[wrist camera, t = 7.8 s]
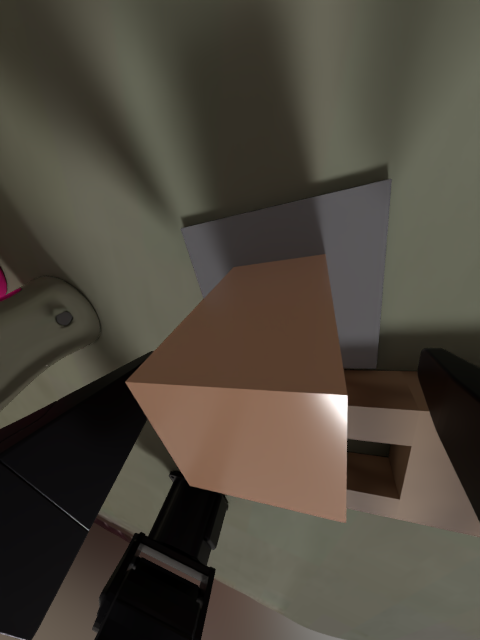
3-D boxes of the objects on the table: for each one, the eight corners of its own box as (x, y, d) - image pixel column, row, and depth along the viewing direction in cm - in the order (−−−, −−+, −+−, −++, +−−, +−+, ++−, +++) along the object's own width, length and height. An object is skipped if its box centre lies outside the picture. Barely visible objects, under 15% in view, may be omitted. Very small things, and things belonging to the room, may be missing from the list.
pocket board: (252, 455, 21) (245, 486, 19) (223, 367, 16) (209, 395, 14) (472, 491, 15) (497, 540, 13) (532, 373, 10) (589, 422, 8)
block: (250, 337, 13) (189, 485, 7) (233, 267, 11) (125, 381, 5) (328, 335, 12) (346, 522, 5) (325, 254, 10) (348, 395, 3)
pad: (227, 362, 16) (225, 366, 15) (184, 227, 11) (180, 228, 11) (374, 363, 12) (376, 368, 12) (388, 178, 8) (391, 179, 8)
